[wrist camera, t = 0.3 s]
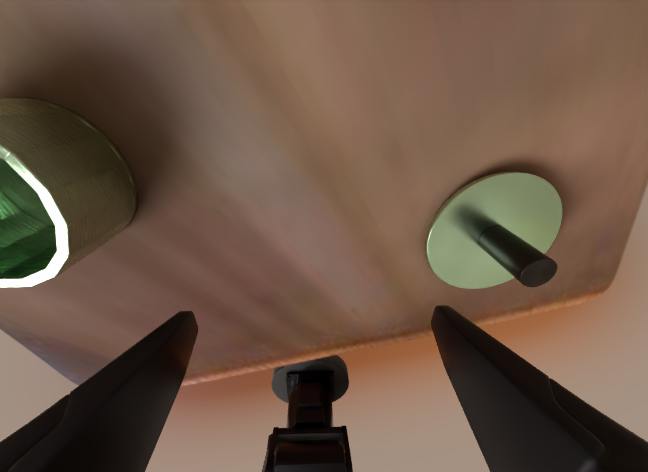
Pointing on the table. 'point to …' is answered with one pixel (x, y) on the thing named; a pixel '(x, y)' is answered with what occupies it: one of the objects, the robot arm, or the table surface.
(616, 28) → the table surface
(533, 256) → the lid
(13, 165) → the canister
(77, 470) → the robot arm
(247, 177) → the table surface
